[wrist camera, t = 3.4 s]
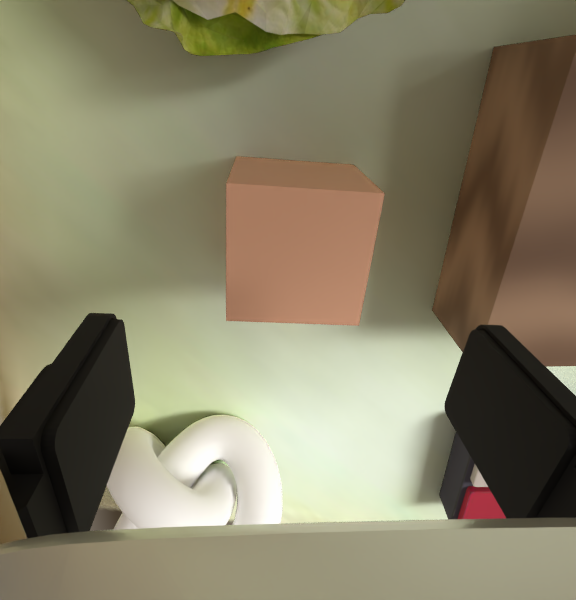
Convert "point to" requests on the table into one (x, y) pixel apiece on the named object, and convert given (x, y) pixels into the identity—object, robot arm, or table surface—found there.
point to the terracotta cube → (298, 241)
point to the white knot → (196, 477)
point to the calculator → (466, 488)
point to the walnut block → (518, 207)
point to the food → (253, 21)
